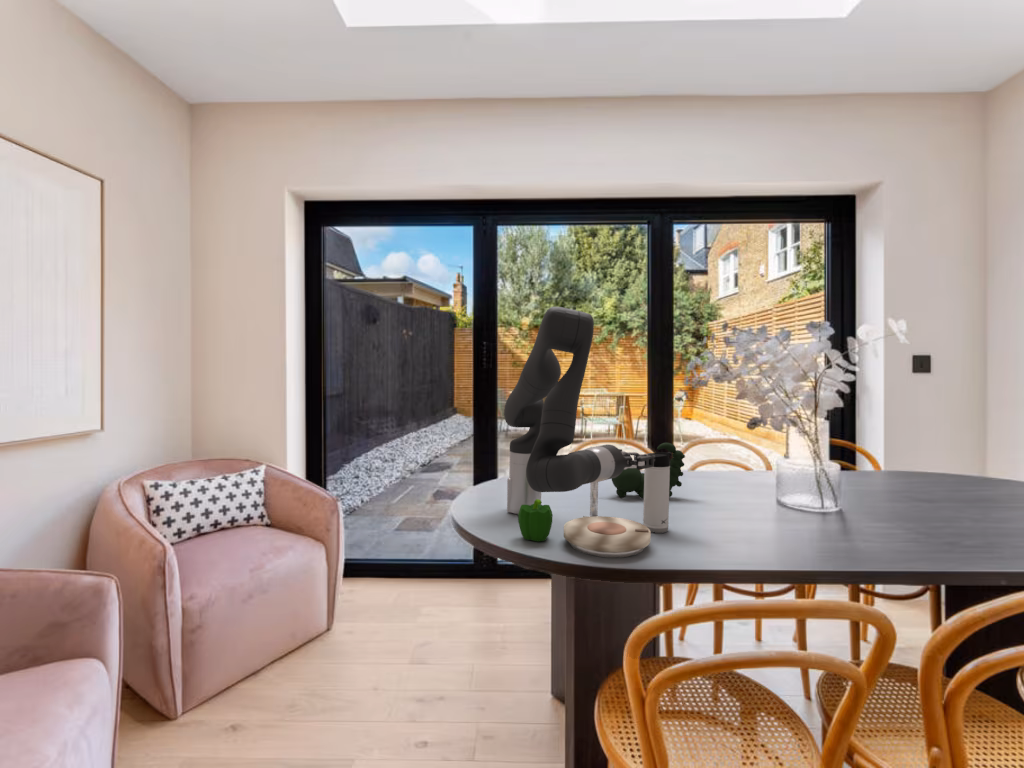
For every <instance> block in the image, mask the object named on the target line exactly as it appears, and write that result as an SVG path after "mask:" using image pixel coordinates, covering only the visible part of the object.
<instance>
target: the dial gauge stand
mask: <svg viewBox="0 0 1024 768" xmlns="http://www.w3.org/2000/svg"><path fill="white" fill-rule="evenodd" d="M589 484H590V485H589V486H590V488H589V489H590V491H589V497H590V498H589V516H586V515H585V516H584V515H583V516H582V517H593V516H598V514H599V512H598V505H599V482H592V483H589Z"/></svg>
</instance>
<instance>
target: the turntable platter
mask: <svg viewBox="0 0 1024 768" xmlns="http://www.w3.org/2000/svg"><path fill="white" fill-rule="evenodd" d="M651 533H652V532H651V531H650V529H649V528H648V527H646V526H645V525H643V523H640V522H638V521H635V520H631V519H627V518H622V517H614V516H593V517H590V516H588V517H583V516H582V517H578V518H577V517H576V518H574V519H570V520H568V521H567V522H565V523H564V525H563V538H564V540H566V541H567V542H568V543H569V544H570V543H572V544H574V545H576V546H579V547H582V548H586V549H591V550H596V551H605V552H627V551H634V550H639V549H642V548H643V549H645V548H646V547H649V545H650V544H651V537H652V536H651V535H652V534H651Z"/></svg>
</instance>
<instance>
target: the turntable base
mask: <svg viewBox="0 0 1024 768" xmlns="http://www.w3.org/2000/svg"><path fill="white" fill-rule="evenodd" d="M569 544H570V546H571V547H572V548H573V549H574V550H575V549H576V550H575V551H577V552H579V553H582V554H585V555H589V556H593V557H599V558H608V559H609V558H611V559H613V558H616V559H617V558H618V559H619V558H627V557H632V556H636V555H638V554H641V553H642V552H643V551H644V548H642V549H639V550H634V551H627V552H605V551H596V550H591V549H586V548H582V547H579V546H576V545H574V544H572V543H570V542H569Z"/></svg>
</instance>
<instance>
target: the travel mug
mask: <svg viewBox="0 0 1024 768" xmlns="http://www.w3.org/2000/svg"><path fill="white" fill-rule="evenodd" d="M653 453H654V455H655V462H654V467H650V468H645V469H643V470H644V472H643V473H644V498H643V513H642V514H643V515H642V516H643V517H642V521H643V523H642V524H643V525H645V526H646V527H648V528H649V529H650V531H651V533H653V532H655V534H662V533H663V534H664V533H667V532H668V531H669V515H670V513H669V512H670V510H669V509H670V497H669V480H670V469H669V468H670V460H671V458H670V457H672V453H671V452H669V451H666V452H663V451H662V452H653Z"/></svg>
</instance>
